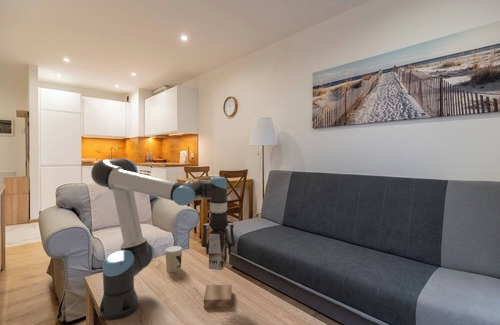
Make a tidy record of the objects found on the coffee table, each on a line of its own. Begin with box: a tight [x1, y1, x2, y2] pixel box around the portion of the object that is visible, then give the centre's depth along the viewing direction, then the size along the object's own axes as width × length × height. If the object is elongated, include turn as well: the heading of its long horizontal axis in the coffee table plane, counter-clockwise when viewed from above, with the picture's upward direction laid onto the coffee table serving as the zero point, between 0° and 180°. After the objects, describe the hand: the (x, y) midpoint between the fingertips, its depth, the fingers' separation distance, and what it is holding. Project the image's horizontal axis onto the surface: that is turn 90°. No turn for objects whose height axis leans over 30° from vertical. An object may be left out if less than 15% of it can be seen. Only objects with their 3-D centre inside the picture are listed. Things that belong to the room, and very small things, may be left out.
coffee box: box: [208, 227, 229, 271], centre depth 119 cm, size 9×6×16 cm
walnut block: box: [203, 284, 233, 309], centre depth 120 cm, size 12×12×4 cm
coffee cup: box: [164, 245, 183, 273], centre depth 149 cm, size 9×9×12 cm
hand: (218, 260), depth 119 cm, fingers closed on coffee box, 7 cm apart
